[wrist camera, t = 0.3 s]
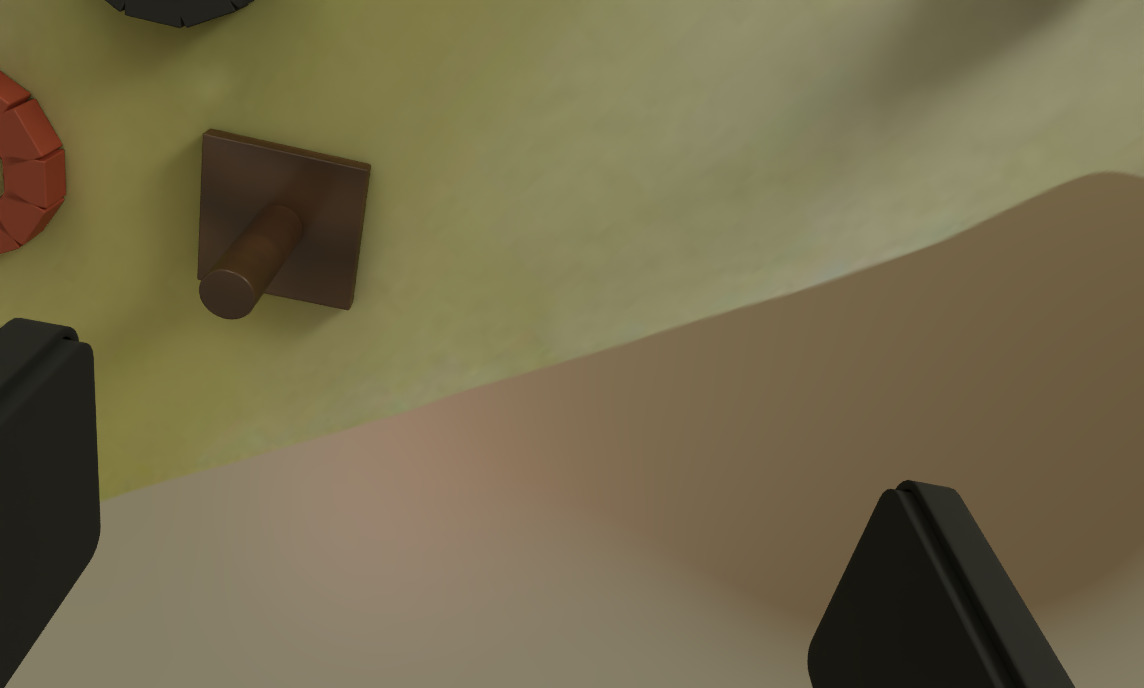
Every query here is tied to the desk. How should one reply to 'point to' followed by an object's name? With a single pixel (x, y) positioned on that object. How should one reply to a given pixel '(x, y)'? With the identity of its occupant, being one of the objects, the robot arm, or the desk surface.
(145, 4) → the charcoal ring
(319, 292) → the peg stand
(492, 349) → the desk surface
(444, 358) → the desk surface
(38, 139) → the brick ring
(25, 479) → the robot arm
